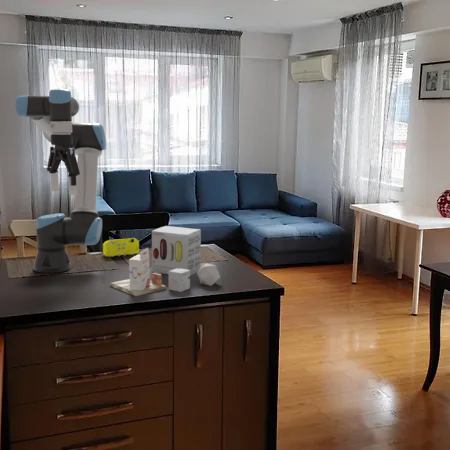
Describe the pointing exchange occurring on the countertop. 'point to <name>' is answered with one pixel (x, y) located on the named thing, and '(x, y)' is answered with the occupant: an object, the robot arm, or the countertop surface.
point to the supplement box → (176, 249)
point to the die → (208, 274)
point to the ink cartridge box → (139, 271)
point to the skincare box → (179, 279)
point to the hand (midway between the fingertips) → (63, 192)
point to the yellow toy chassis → (121, 247)
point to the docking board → (153, 287)
